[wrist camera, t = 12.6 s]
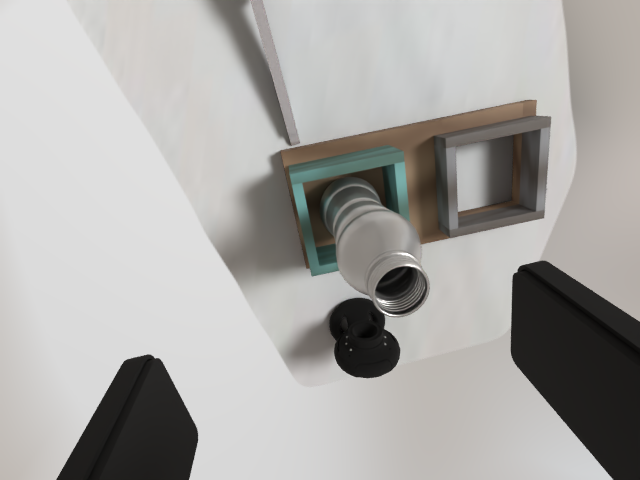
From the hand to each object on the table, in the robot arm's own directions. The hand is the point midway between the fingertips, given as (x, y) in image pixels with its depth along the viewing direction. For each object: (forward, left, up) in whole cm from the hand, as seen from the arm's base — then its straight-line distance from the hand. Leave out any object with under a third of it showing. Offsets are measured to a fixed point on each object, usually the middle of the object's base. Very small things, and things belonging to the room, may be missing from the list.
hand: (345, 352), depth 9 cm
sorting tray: (+6, +13, -32) cm, 35 cm away
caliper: (-12, 0, -32) cm, 35 cm away
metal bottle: (+5, +4, -31) cm, 31 cm away
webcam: (+23, +4, -32) cm, 40 cm away
